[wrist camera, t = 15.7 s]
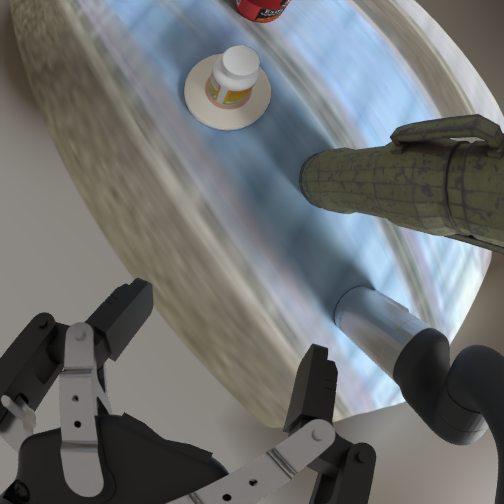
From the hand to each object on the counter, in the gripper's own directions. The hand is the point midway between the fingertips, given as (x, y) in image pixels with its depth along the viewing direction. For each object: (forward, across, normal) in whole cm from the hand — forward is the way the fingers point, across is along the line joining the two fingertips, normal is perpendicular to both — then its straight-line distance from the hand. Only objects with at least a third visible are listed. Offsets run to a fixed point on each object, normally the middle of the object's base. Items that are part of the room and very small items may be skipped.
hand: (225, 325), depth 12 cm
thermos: (+34, -4, +2) cm, 34 cm away
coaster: (+30, +13, -8) cm, 34 cm away
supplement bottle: (+29, +12, -9) cm, 32 cm away
